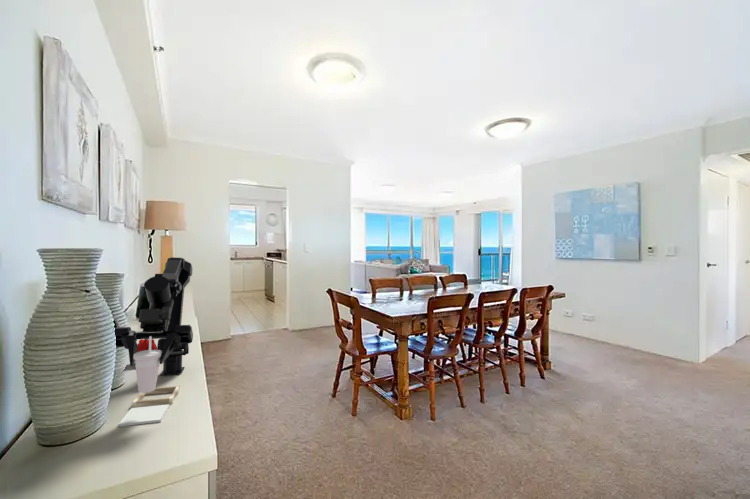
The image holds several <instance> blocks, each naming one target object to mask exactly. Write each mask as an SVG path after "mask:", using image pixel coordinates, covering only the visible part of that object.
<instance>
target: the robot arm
mask: <svg viewBox="0 0 750 499" xmlns="http://www.w3.org/2000/svg"><path fill="white" fill-rule="evenodd" d="M192 276H193V265H192V263H191V262H190V261H187V260H185V258H183V257H172V256H171V257H168V258H167V261H166V262H165V265H164V270H163V271H162V273H154V276H152V277H150V278H148V279H147V280H146V281H145V282H144V290H145V293H146V297H147V301H148V302H149V303H150V304H149V308H143V309H140V310H139V316H138V323H140V324H139V325H140V326H139V327H140V329H142V331H135V330H132V328H131V326H124V327H123V326H122V327H121V326H120V327H114V328H115V335H116V348H124V349H126V350H128V358H129V365H130V367H133V366H134V364H135V359H133V355H134V354H135V353H137V351H138V343H137V342H138V340H141V339H143V340H145V339H148V340H149V336H152V339H153V340H157V344H156V346H157V349H158V350H161V351H162V354H161V357H160V364H159V365H162V371H161V372H160V373H159V376H161V377H162V376H171V375H173V376H174V375H181V374H182V373H183V372H184V370H185V366H183V356H186V355H188V354H189V353H190V351H189V350H190V348H189V347H190V346H189V344H191V343H193V340H194V332H193V328H192V326H191V324H182V318H183V308H184V307H183V306H184V297H185V296H184V295H185V288H186V287H187V285H189V283H190V282H191V277H192Z"/></svg>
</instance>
